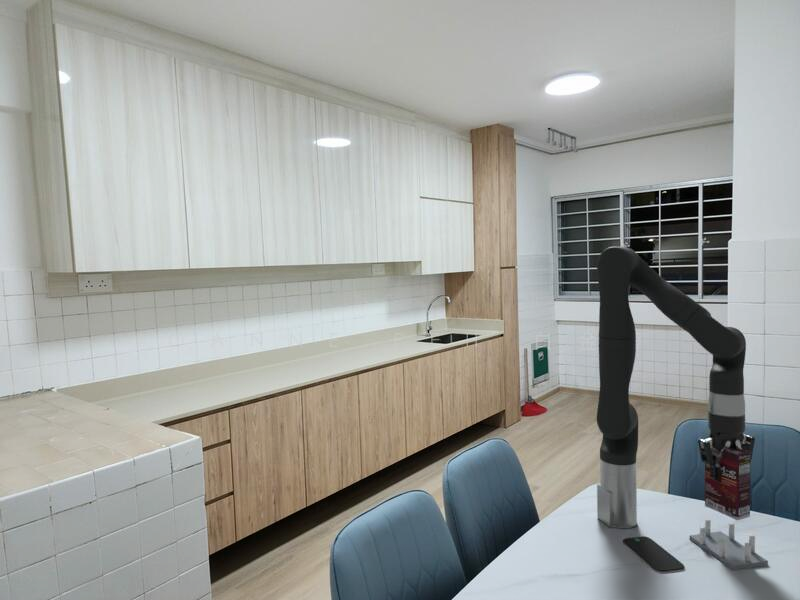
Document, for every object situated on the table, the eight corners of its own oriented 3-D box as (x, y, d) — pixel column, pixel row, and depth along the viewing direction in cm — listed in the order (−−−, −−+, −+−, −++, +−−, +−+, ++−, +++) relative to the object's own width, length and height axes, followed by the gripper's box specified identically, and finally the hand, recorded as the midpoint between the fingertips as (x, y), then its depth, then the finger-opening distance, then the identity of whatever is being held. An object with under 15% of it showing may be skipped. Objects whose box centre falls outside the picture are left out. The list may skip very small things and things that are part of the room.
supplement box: (703, 506, 129) (703, 443, 128) (717, 502, 131) (717, 440, 130) (737, 521, 121) (737, 454, 120) (751, 517, 123) (751, 451, 122)
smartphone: (647, 535, 134) (688, 567, 119) (647, 538, 134) (688, 571, 119) (620, 538, 133) (658, 571, 118) (620, 541, 133) (658, 575, 118)
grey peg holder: (733, 570, 119) (733, 548, 118) (688, 539, 132) (688, 520, 132) (768, 564, 120) (768, 543, 120) (721, 534, 134) (721, 516, 134)
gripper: (739, 404, 129) (739, 471, 130) (688, 409, 127) (688, 477, 128) (765, 412, 122) (765, 482, 123) (712, 417, 120) (712, 489, 120)
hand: (726, 479), depth 125 cm, fingers closed on supplement box, 5 cm apart
